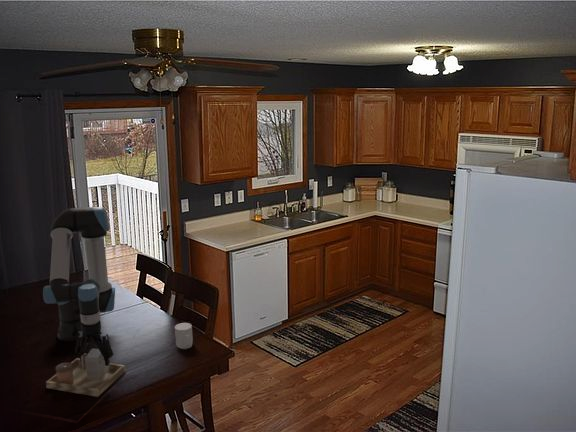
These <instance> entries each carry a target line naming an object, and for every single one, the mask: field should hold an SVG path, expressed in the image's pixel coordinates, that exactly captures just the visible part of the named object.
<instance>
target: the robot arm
mask: <svg viewBox="0 0 576 432" xmlns="http://www.w3.org/2000/svg"><path fill="white" fill-rule="evenodd" d="M110 228H111V227H110V221H109V216H108V213H107V210H106V208H105V207H103V206H89V207H77V208H76V207H70V208H67V209H65V210H63V211H61V212H60V213H59V214H58V215H57V217H55V219H54V221H53V222H52V224H51V228H50V234H49V235H50V237H51V239H52V240H51V257H50V272H49V285H45V286H43V289H42V297H43V301H44V303H45V304H57V306H58V307H57V308H58V315H59V326H58V329H57V330H58V331H57V338H58V340H60V341H61V342H75V350H74V353H75V354H78V355H79V358H80V361H81V362H82V370H85V369H86V363H85V357H86V356H87V355H88V353H86V350H87V348H88V346H89V344H90V343H91V344H94V345H95V346H96V348H97V349H99V351H100V352H101V354H102V356H103V357H104V358H103V359H102V362H103V372H104V373H106V372H107V371H109V366H108V365H109V364H110V363H111V362H110V359H111V358H112V357H113V356H114V352H113V349H112V345H111V343H110V341H109V334H108V333H105V334H104V333H102V331H101V330H102V322H101V314H102V313H104V314H105V313H109V312H112V311H114V309H115V301H116V299H115V298H116V288H115V287H113V284H112V283H111V282H109V276H108V266H107V257H106V256H107V255H106V254H107V253H106V244H105V237H106V236H107V234H108V232H109V231H110ZM74 234H80V237H81V238H82V239H84V244H85V245H84V246H85V254H86V261H87V263H86V264H87V270H88V278H87V279H86V280H85V281H83V282H74V283H69V282H70V266H71V265H70V262H71V240H72V238H74V237H73V236H74Z"/></svg>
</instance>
